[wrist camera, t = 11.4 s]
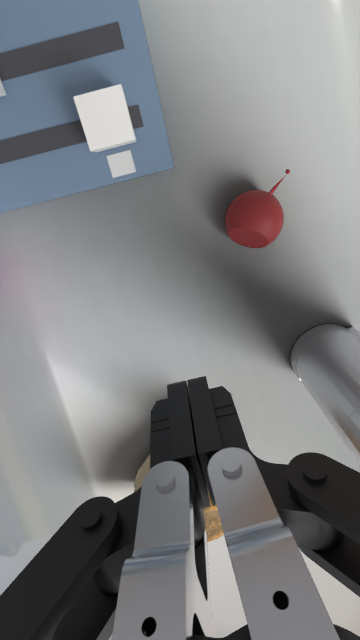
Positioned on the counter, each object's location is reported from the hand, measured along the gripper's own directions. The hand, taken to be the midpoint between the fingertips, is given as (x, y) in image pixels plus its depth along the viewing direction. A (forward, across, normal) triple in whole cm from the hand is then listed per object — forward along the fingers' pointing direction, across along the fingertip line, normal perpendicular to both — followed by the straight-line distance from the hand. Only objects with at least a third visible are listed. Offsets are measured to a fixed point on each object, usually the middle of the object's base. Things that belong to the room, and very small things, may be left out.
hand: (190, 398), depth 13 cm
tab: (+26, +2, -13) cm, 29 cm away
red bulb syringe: (+28, -10, -2) cm, 30 cm away
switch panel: (+28, +8, -16) cm, 33 cm away
